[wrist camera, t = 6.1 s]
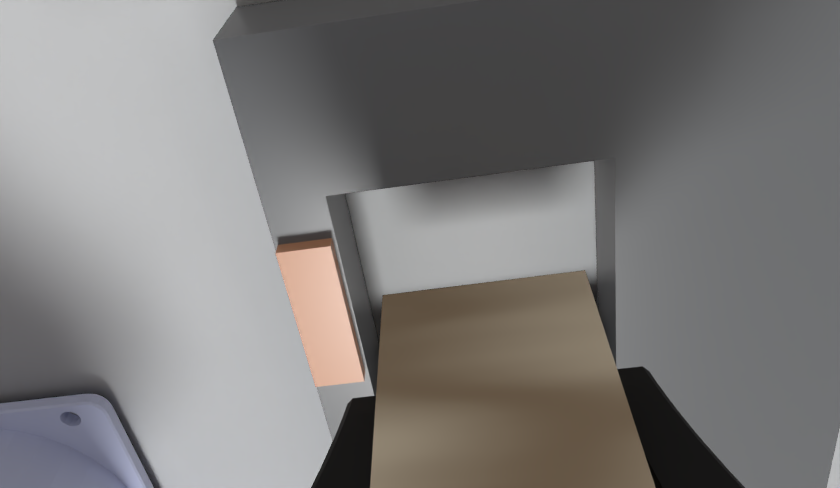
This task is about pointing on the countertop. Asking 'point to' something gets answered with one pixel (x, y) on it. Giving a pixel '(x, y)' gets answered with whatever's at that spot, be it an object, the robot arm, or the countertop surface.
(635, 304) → the dock
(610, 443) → the tan rectangular block
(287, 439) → the countertop surface
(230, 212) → the countertop surface
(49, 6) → the countertop surface
